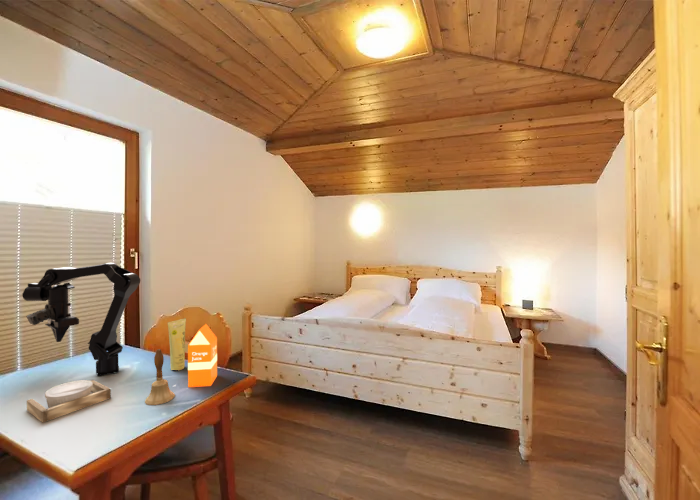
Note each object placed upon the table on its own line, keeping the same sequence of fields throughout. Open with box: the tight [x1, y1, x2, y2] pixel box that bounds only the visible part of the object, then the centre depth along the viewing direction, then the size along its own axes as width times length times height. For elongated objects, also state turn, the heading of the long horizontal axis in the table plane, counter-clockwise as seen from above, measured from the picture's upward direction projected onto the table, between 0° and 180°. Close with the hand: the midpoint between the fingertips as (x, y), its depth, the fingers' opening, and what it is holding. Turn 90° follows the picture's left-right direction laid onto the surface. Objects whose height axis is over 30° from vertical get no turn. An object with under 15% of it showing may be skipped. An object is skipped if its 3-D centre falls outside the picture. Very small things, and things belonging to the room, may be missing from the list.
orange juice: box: [187, 323, 218, 388], centre depth 115 cm, size 8×9×20 cm
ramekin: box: [44, 379, 93, 409], centre depth 99 cm, size 11×11×5 cm
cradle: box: [26, 379, 112, 423], centre depth 99 cm, size 16×13×3 cm
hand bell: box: [144, 348, 176, 406], centre depth 102 cm, size 8×8×16 cm
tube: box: [167, 318, 187, 371], centre depth 126 cm, size 6×5×20 cm
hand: (58, 341), depth 121 cm, fingers closed
